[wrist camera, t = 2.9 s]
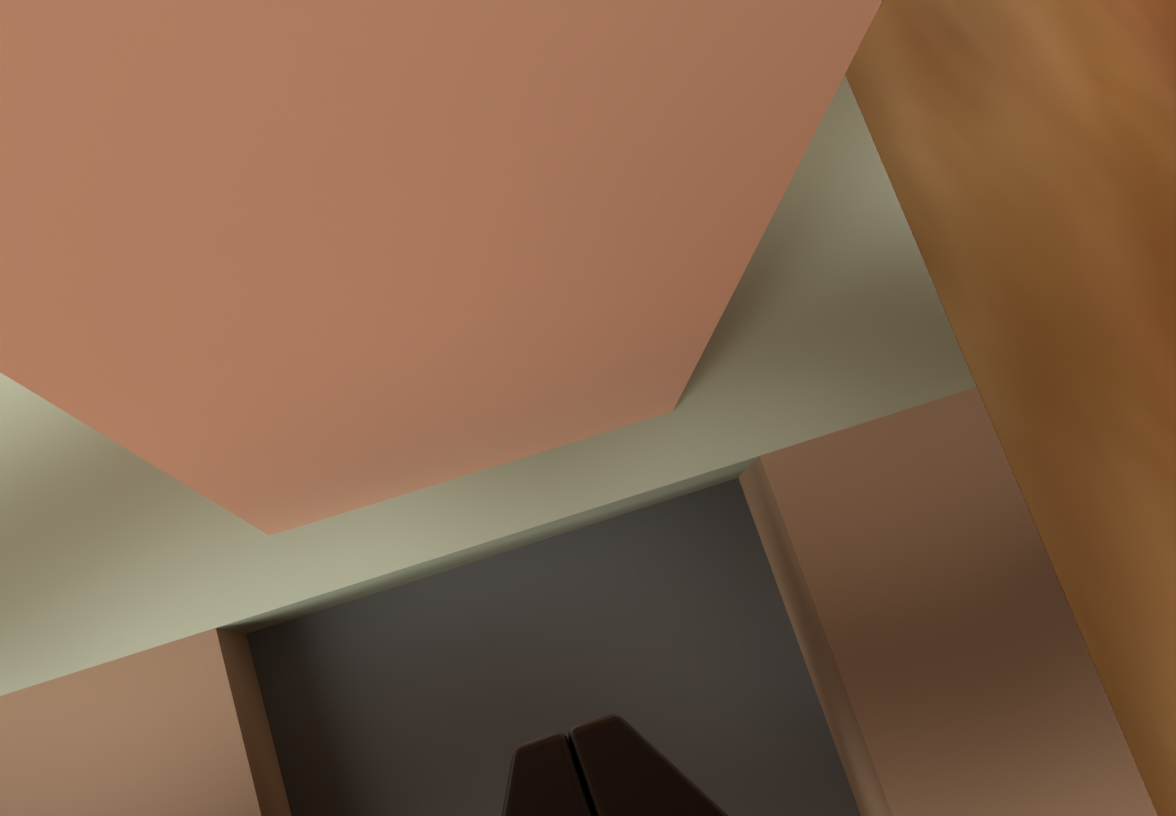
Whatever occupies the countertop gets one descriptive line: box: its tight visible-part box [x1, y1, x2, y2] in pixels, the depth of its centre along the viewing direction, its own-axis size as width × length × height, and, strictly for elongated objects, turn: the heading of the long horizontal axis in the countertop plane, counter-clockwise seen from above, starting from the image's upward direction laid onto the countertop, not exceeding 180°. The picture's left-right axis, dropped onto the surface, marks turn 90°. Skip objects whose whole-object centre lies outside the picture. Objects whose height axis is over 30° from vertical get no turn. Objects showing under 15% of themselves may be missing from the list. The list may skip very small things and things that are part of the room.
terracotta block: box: [0, 0, 883, 536], centre depth 11 cm, size 7×6×12 cm
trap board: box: [0, 75, 1158, 816], centre depth 18 cm, size 35×15×2 cm, turn 18°
